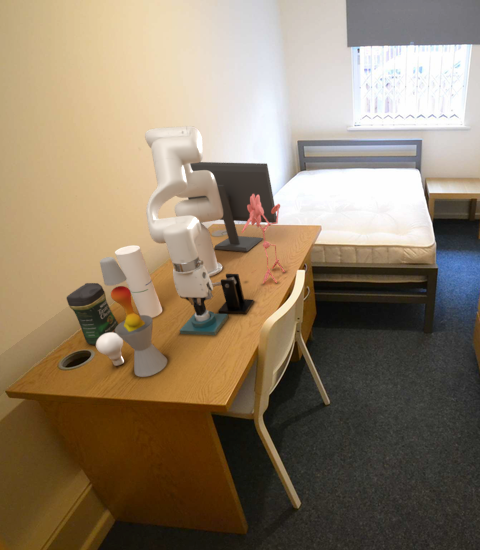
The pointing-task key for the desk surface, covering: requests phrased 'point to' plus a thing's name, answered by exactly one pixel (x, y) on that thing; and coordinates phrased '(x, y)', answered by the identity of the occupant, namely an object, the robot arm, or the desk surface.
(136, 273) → the cylindrical container
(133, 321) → the lava lamp
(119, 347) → the lightbulb
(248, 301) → the lever bracket
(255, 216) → the figurine
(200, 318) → the flush button
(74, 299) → the coffee jar
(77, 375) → the desk surface
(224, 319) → the plate
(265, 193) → the computer monitor
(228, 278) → the flush lever
